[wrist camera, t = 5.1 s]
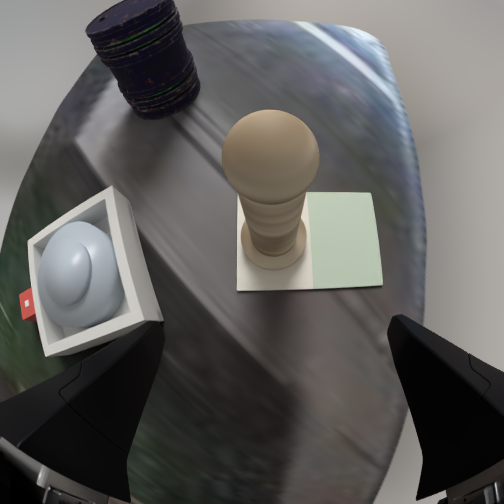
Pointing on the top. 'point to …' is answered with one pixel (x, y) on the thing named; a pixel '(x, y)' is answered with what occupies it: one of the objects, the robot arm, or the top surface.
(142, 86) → the dark blue cylinder
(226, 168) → the beech pawn
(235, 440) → the top surface
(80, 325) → the dome button
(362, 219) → the game track
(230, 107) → the top surface
